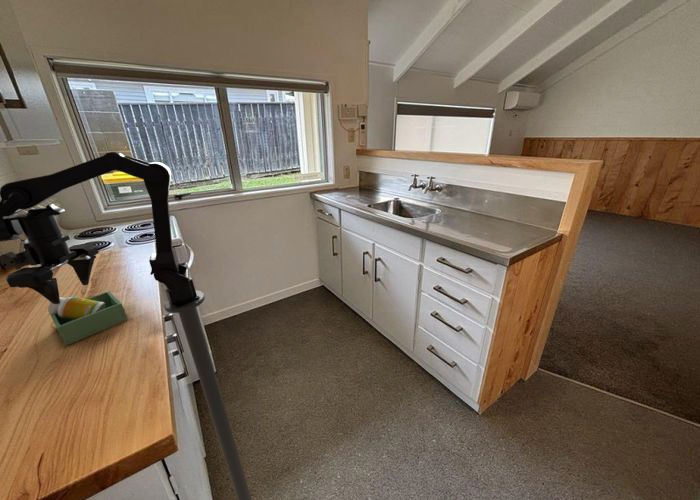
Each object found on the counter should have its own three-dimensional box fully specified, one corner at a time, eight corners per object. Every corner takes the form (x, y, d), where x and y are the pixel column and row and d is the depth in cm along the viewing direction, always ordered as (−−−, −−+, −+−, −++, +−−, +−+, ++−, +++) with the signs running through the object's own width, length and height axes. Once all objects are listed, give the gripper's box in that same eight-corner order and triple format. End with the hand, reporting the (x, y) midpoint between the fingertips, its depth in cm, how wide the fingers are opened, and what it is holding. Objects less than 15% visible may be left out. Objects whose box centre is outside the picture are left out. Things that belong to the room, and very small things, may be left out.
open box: (115, 306, 82) (109, 290, 80) (128, 319, 75) (121, 303, 73) (57, 328, 73) (48, 311, 71) (65, 345, 66) (56, 328, 64)
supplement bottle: (100, 301, 72) (53, 293, 69) (90, 323, 70) (41, 315, 67) (108, 303, 77) (64, 294, 74) (99, 323, 75) (54, 315, 72)
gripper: (42, 226, 73) (67, 279, 79) (-41, 253, 56) (-2, 319, 62) (88, 223, 74) (109, 276, 80) (21, 249, 57) (54, 314, 63)
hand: (72, 293), depth 71 cm, fingers open, 9 cm apart
